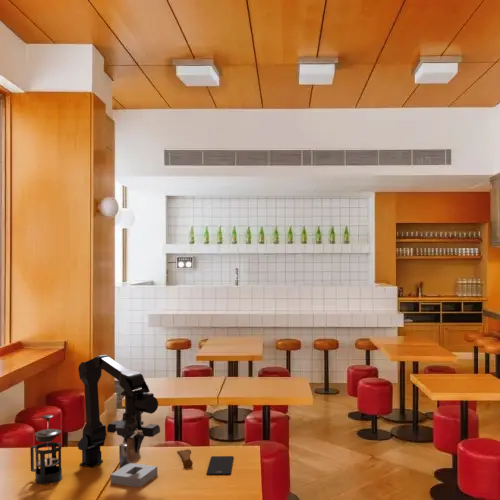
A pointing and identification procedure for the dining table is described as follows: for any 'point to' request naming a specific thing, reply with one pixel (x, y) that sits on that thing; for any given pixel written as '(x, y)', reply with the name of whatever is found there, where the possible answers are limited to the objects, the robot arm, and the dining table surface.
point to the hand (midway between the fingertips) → (133, 452)
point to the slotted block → (134, 475)
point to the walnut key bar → (132, 449)
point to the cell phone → (220, 465)
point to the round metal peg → (123, 455)
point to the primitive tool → (185, 457)
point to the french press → (48, 465)
